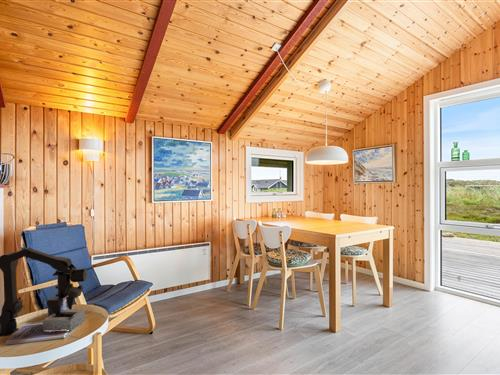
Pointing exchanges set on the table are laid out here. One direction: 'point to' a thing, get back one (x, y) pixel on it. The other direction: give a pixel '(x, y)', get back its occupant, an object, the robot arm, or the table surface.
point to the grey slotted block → (64, 320)
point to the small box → (63, 307)
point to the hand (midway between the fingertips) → (64, 312)
